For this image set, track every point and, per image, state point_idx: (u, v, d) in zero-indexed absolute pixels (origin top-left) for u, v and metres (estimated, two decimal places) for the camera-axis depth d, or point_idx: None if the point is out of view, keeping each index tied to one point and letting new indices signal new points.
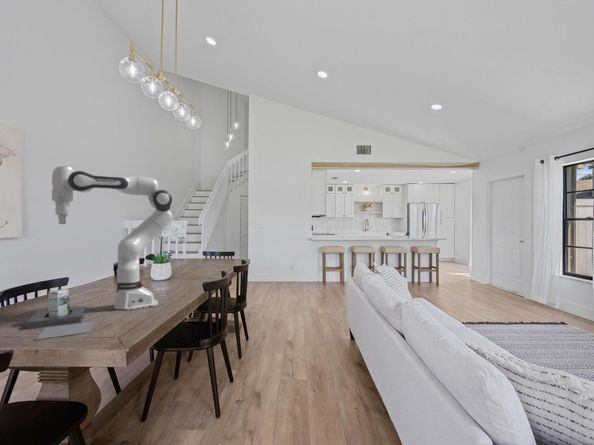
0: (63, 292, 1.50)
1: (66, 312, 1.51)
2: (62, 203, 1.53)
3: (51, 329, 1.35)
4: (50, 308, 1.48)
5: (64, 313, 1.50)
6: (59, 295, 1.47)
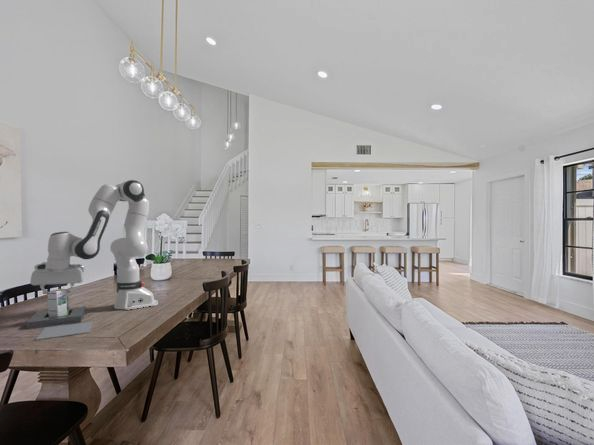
0: (62, 292, 1.49)
1: (66, 312, 1.51)
2: None
3: (51, 329, 1.35)
4: (49, 308, 1.48)
5: (64, 313, 1.50)
6: (58, 294, 1.47)
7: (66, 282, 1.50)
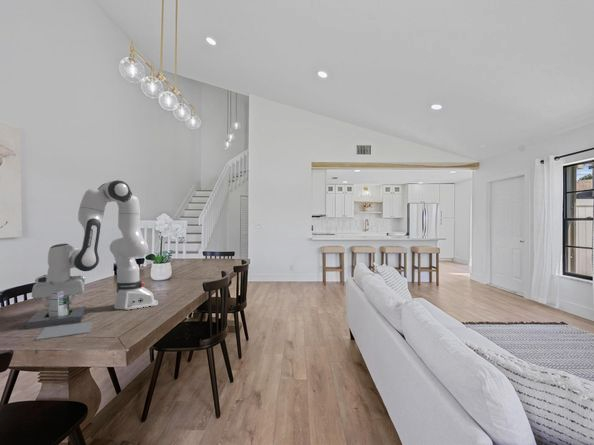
0: None
1: (66, 312, 1.51)
2: None
3: (51, 329, 1.35)
4: (50, 308, 1.48)
5: (64, 313, 1.50)
6: (59, 294, 1.47)
7: (67, 294, 1.50)
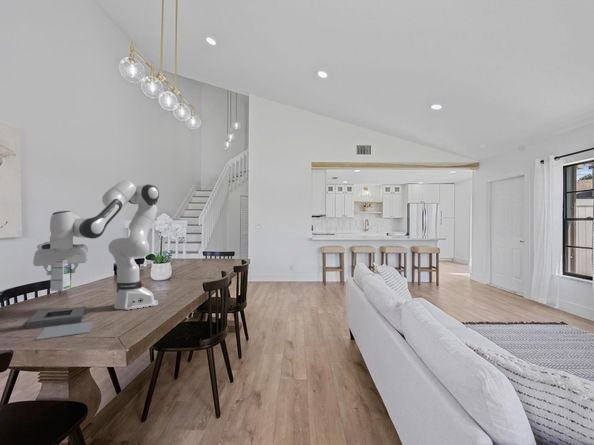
0: None
1: (69, 282, 1.47)
2: None
3: (51, 329, 1.35)
4: (53, 277, 1.42)
5: (67, 282, 1.46)
6: (64, 263, 1.43)
7: (71, 262, 1.47)
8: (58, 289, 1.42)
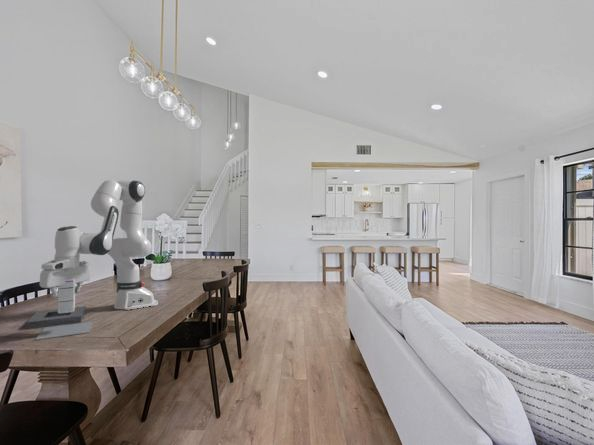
0: (74, 280, 1.36)
1: None
2: None
3: (51, 329, 1.35)
4: (61, 298, 1.31)
5: (74, 303, 1.36)
6: (74, 282, 1.34)
7: (78, 281, 1.38)
8: (68, 311, 1.33)
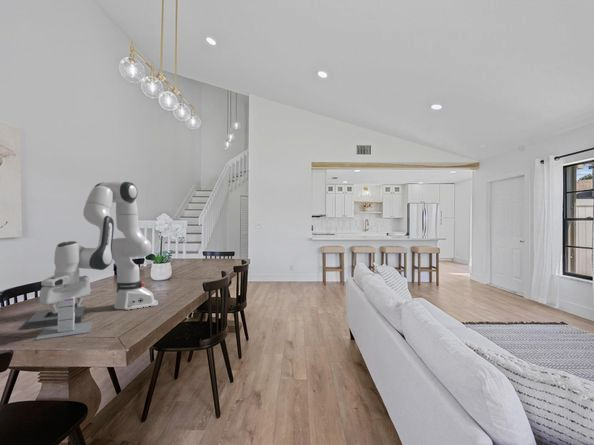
0: (74, 298, 1.36)
1: None
2: None
3: (51, 329, 1.35)
4: (61, 317, 1.31)
5: None
6: (74, 300, 1.34)
7: (77, 296, 1.38)
8: (68, 329, 1.32)
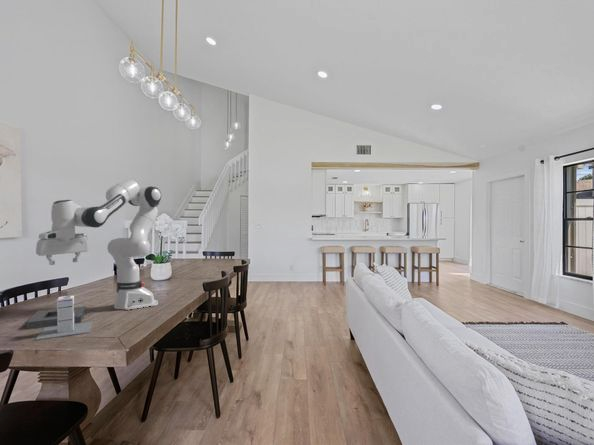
0: (73, 298, 1.36)
1: None
2: None
3: (51, 329, 1.35)
4: (60, 318, 1.31)
5: None
6: (73, 301, 1.34)
7: (74, 251, 1.47)
8: (68, 330, 1.32)
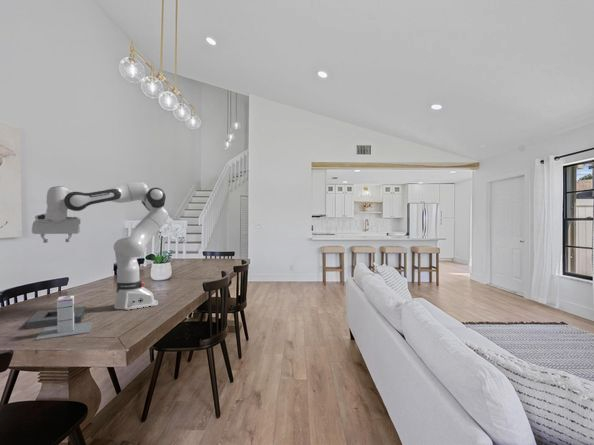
0: (73, 298, 1.36)
1: None
2: None
3: (51, 329, 1.35)
4: (60, 318, 1.31)
5: None
6: (73, 301, 1.34)
7: (64, 232, 1.64)
8: (68, 330, 1.32)
